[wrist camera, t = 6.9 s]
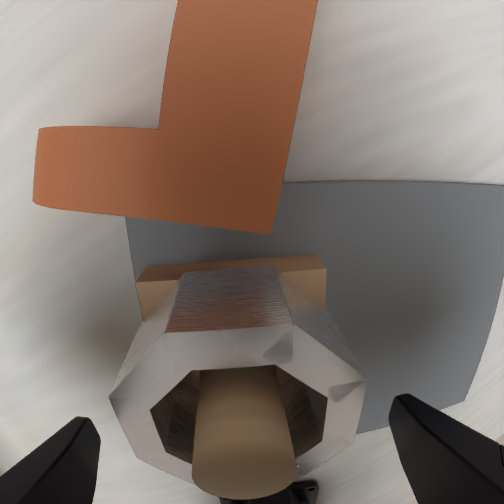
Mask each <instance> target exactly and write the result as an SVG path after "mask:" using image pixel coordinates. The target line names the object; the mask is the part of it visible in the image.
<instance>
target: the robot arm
mask: <svg viewBox="0 0 504 504" xmlns="http://www.w3.org/2000/svg"><path fill="white" fill-rule="evenodd" d="M388 420H389V425H390V428H391V431H392V434H393V438H394V441H395V444H396V448H397V451H398V454H399V458H400V461H401V464H402V466H403V469H404V471H405V474H406V476H407V478H408V481H409V483H410V485H411V488H412V490H413V492H414V495H415V497H416V500H417V502H418V504H504V446H503V445H499V443H497V442H495V441H494V440H492V439H490V438H488V437H486V436H484V435H482V434H481V433H479V432H477V431H475V430H473V429H471V428H470V427H468V426H466V425H464V424H462V423H460V422H459V421H457V420H455V419H453V418H451V417H450V416H448V415H446V414H444V413H443V412H441V411H439V410H437V409H435V408H434V407H432V406H430V405H428V404H427V403H425V402H423V401H421V400H420V399H418V398H416V397H415V396H413V395H411V394H409V393H404V394H401V395H397V396H395V397H394V399H393V402H392V405H391V409H390V412H389V416H388ZM100 444H101V440H100V436H99V434H98V432H97V430H96V428H95V426H94V424H93V422H92V421H91V419H89V418H87V417H79V416H78V417H75V418H74V419H72V420H71V421H70V422H69V423H67V424H66V425H65V426H64V427H62V428H61V429H60V430H59V431H57V432H56V433H55V434H54V435H52V436H51V437H50V438H49V439H47V440H46V441H45V442H44V443H42V444H41V445H40V446H39V447H37V448H36V449H35V450H34V451H32V452H31V453H30V454H28V455H27V456H26V457H25V458H23V459H22V460H21V461H20V462H18V463H17V464H16V465H14V466H13V467H12V468H11V469H9V470H8V471H7V472H5V473H4V474H3V475H2V476H0V504H92V502H93V497H94V492H95V487H96V480H97V470H98V461H99V452H100ZM318 490H319V487H318V483H317V482H314V481H313V482H306V483H299V484H292V485H289V486H288V487H286V488H285V489H283V490H281V491H279V492H277V493H275V494H272V495H269V496H266V497H261V498H255V499H228V498H222V497H219V499H220V502H221V504H315V503H316V499H317V494H318Z"/></svg>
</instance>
